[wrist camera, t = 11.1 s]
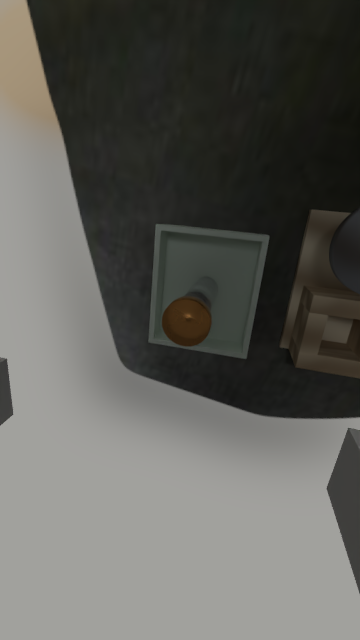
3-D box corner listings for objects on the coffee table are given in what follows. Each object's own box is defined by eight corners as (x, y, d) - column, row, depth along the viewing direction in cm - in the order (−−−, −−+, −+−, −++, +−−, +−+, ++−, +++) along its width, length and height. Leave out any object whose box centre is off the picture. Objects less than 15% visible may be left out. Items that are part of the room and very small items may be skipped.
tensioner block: (311, 200, 31) (338, 191, 23) (414, 208, 30) (483, 203, 21) (279, 344, 37) (290, 380, 29) (363, 357, 36) (402, 400, 27)
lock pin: (191, 270, 36) (163, 296, 23) (224, 274, 35) (213, 303, 23) (188, 302, 37) (160, 342, 25) (219, 306, 36) (207, 350, 24)
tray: (164, 223, 35) (155, 223, 32) (266, 234, 33) (269, 236, 30) (156, 331, 40) (148, 342, 36) (245, 346, 38) (246, 359, 34)
